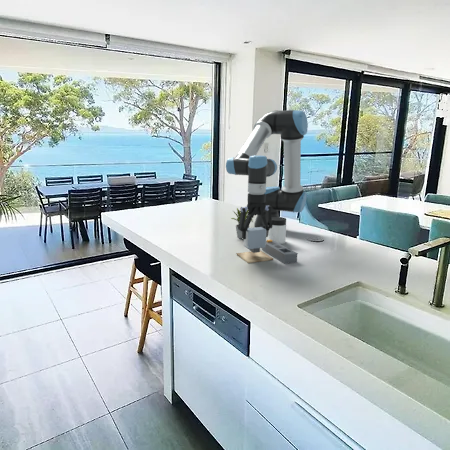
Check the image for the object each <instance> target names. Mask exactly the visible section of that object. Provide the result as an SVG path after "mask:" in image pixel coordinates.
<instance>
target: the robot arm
mask: <svg viewBox="0 0 450 450" xmlns="http://www.w3.org/2000/svg"><path fill="white" fill-rule="evenodd" d="M308 124H309V123H308V117H307V115H306V112H305V111H302V110H297V109H295V110H294V109H292V110H291V109H290V110H288V109H287V110H286V109H285V110H272V111H269V112H267V113H265V114H264V115H262V116H261V117H260V118H258V120H257V121H256V122H255V124H253V130H252V132H251V133H250V134H249V136H248V138H247V139H246V141H245V142H244V144H243V145H242V147H241V148H240V150H239V151H238V153H237V155H236V156H235V157H234V156H233V157H229V158H227V160H226V162H225V168H226V172H227V174H229V175H235V176H248V177H247V178H248V180H247V205H246V206H240V209H239V210H240V211H241V212H240V213H241V215H240V220H239V225H238V224H237V225H238V230H240V231H242V238H243V239H242V240H243V246H244V248H246V247H248V232H247V229H248V227H249V228H250V224H251V222H252V221H253V220H252V219H253V217H254V218H255V216H256V219H255V221H254V222H253V223H254V225H253V226H254V227H253V228H255V227H262V228H264V229H266V238H269V230H270V228H272V218H271V217H280V215H279V212H281V211H282V212H289V213H302V212H303V211H304V209H305V206H306V203H307V198H308V193H307V191H304V187H303V186H302V184H301V173H302V172H301V169H302V168H301V161H302V160H301V158H302V157H301V155H302V154H301V151H302V150H301V147H302V146H301V145H302V143H301V142H302V140H303V139H304V138H305V137H304V136H305V135H306V134H307V133H308V128H309V125H308ZM271 135H280V140H281V141H282V142H283V175H284V176H283V177H284V179H283V180H284V181H283V182H284V185H283V186H281V188H280V186H275V185H274V186H267V177H268V178H269V177H272V176H273V175H275V173H276V172H277V169H278V165H277V163H276V161H275V160H274V159H271V158H267V156H266V155H257V154H258V153H259V151H260V149H261V148H262V146H263V145H264V142H266V139H269V138H270V137H271ZM247 210H248V214H247V218H246V220H245V216H246V212H247ZM251 220H252V221H251ZM244 221H245V223H244ZM265 245H266V243H265Z"/></svg>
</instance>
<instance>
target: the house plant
mask: <svg viewBox="0 0 450 450" xmlns="http://www.w3.org/2000/svg"><path fill="white" fill-rule="evenodd" d="M236 211H237V212H235V211H234V210H232V212H233V213H234V215H235V216H236V218H235V217H230V219H231V220H234V221H237V223H238V224H236V225H235V229H236V230H235V231H236V237H237V238H238V239H240V238H242V231H240V230H238V225H239V220H240V215H241V209H239V208H238V207H236ZM248 212H249V211H248V209H247V212H246V216H245V220H246V218H247V214H248ZM253 218H255V216H254V217H253ZM253 218H252V220H251V222H252V223H254V219H253ZM244 223H245V221H244ZM248 228H250V226H249V227H248Z"/></svg>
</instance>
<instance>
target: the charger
mask: <svg viewBox="0 0 450 450" xmlns="http://www.w3.org/2000/svg"><path fill="white" fill-rule="evenodd" d="M247 232H248V247H245V248H246V249H248V250H249V252H253V253H257V252H260V251H261V249H262V248H263V247H265V243H266V241H267V237H266V229H264V228H262V227H249V228H248V229H247Z"/></svg>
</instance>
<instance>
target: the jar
mask: <svg viewBox="0 0 450 450" xmlns="http://www.w3.org/2000/svg"><path fill="white" fill-rule="evenodd" d="M271 218H272V228H270V230H269V231H268V240H272V241H276V242H278V243H279V244H281V245H283V244H286V238H287V237H286V236H287V218H286V217H282V216H279V217H271Z"/></svg>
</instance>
